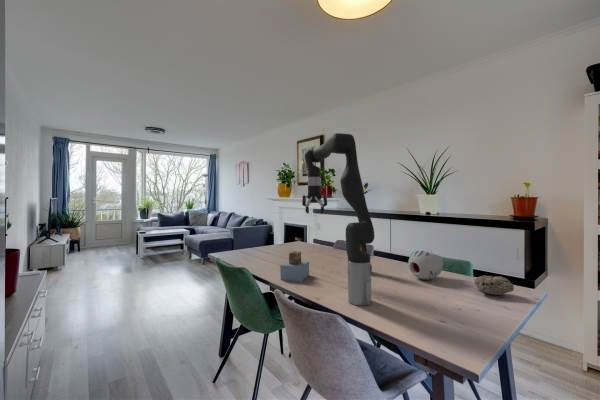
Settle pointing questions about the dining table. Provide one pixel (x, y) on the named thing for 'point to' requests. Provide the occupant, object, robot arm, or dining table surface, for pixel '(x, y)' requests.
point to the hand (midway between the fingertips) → (314, 213)
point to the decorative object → (425, 264)
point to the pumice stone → (493, 285)
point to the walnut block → (295, 257)
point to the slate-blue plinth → (294, 271)
